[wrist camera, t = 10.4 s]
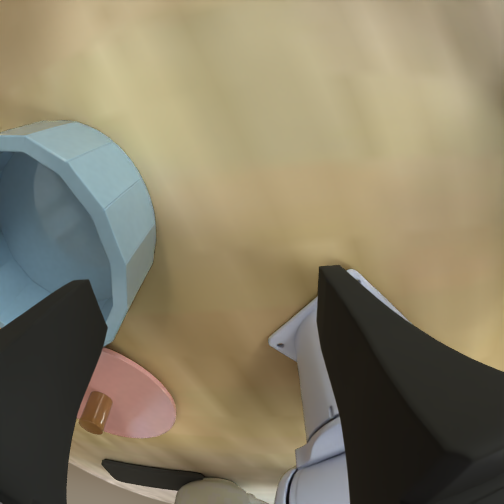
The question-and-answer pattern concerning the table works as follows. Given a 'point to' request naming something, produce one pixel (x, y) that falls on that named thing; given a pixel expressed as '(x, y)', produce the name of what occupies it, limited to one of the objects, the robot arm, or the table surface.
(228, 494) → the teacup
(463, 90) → the table surface
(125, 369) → the pink knobbed disc
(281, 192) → the table surface
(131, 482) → the phone
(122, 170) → the bowl
